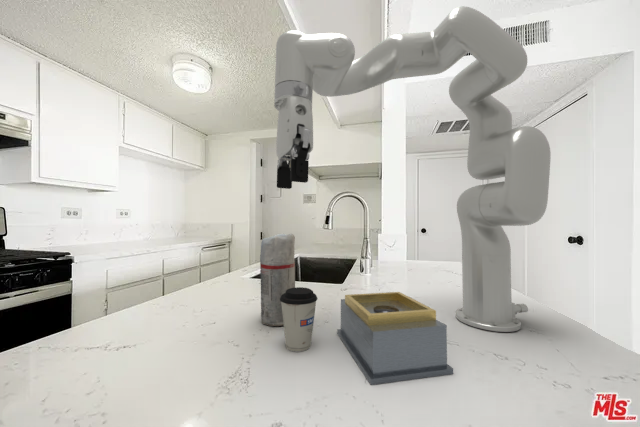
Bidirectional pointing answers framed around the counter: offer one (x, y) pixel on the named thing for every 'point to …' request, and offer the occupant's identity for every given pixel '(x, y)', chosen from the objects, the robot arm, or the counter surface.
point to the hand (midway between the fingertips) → (291, 185)
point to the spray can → (276, 275)
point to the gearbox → (393, 337)
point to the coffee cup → (298, 317)
